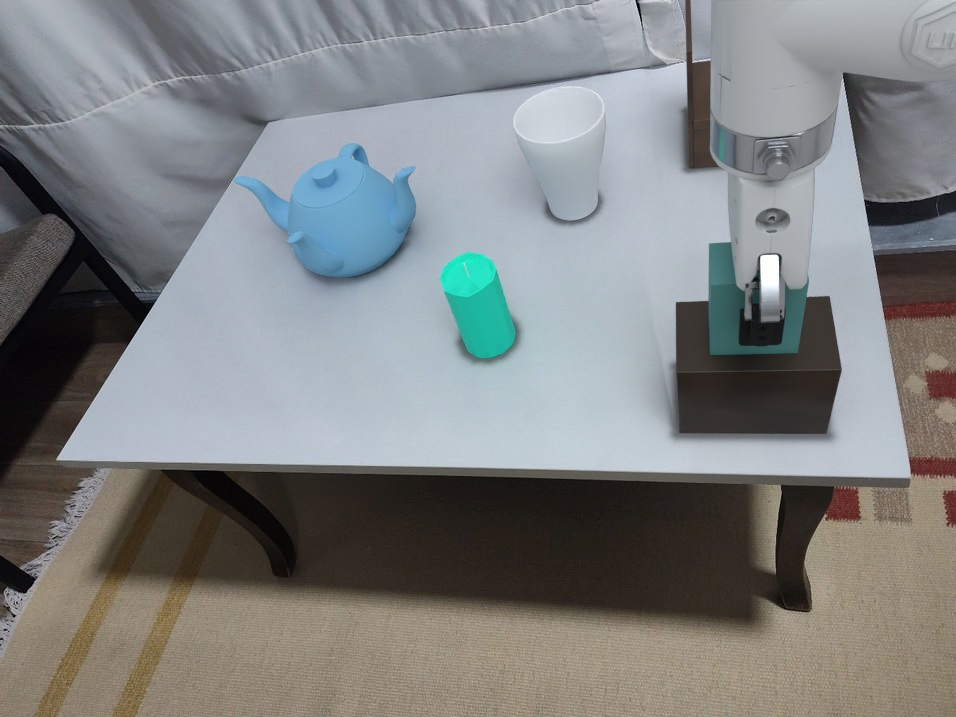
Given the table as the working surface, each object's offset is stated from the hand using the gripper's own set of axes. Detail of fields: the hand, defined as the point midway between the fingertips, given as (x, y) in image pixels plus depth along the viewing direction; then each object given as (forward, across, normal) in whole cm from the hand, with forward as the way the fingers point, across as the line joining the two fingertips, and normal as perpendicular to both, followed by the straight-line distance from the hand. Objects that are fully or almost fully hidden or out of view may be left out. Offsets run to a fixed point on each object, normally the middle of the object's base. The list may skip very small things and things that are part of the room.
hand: (756, 303), depth 62 cm
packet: (+4, 0, 0) cm, 4 cm away
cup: (+14, +30, +19) cm, 38 cm away
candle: (+14, +8, +27) cm, 32 cm away
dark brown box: (+14, 0, 0) cm, 14 cm away
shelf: (+14, +40, -2) cm, 43 cm away
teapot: (+14, +24, +48) cm, 56 cm away
